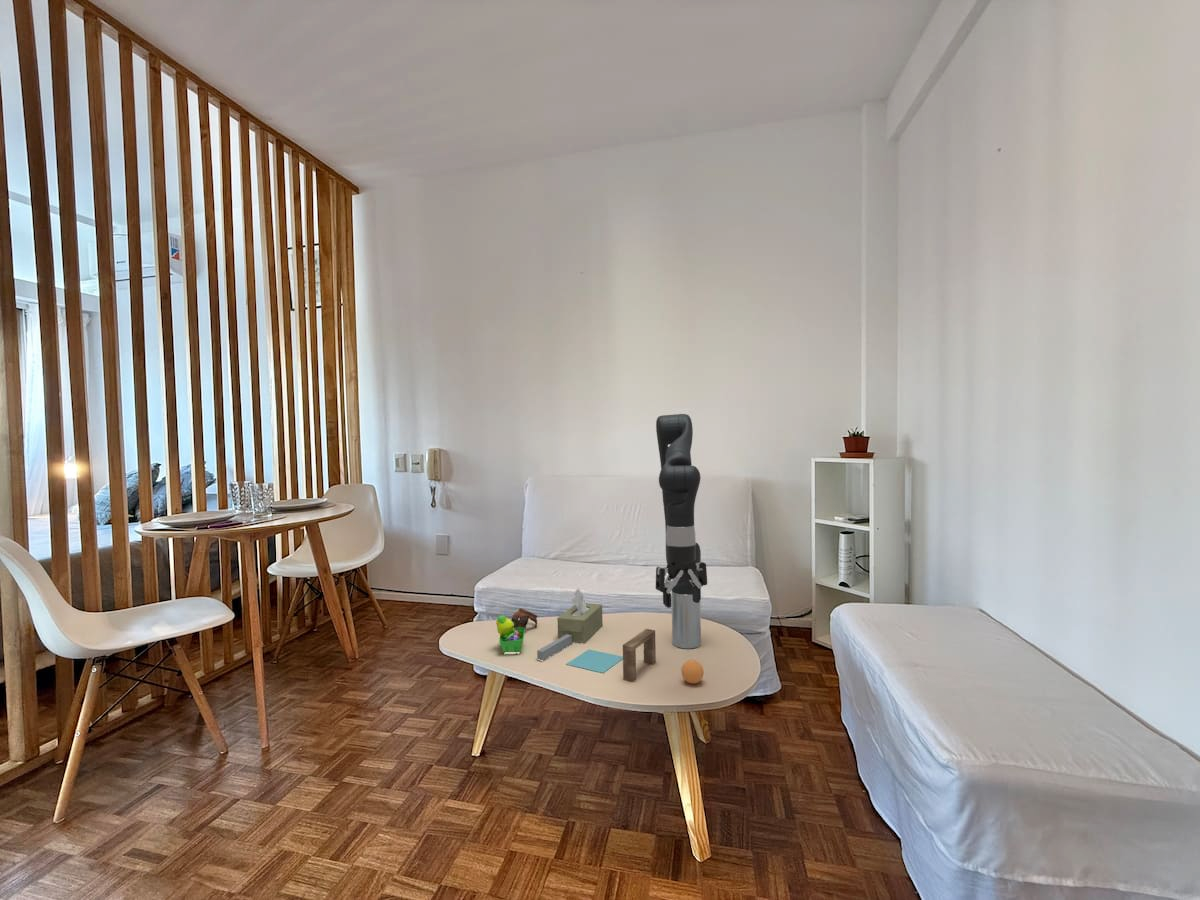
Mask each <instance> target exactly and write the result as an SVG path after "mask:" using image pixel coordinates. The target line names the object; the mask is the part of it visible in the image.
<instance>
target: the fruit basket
mask: <svg viewBox="0 0 1200 900" xmlns="http://www.w3.org/2000/svg"><path fill="white" fill-rule="evenodd" d="M495 623H496V628H497V633H498V635H499V639H498V642H499V644H500V647H501V650H502V653H503V652H504V653H505V652H520V653H521V650H522V646H523V642H524V639H525V630H526V628H513V627H514V623H513V622H512V621H511V619H509V618H508V617H507V616H505V615H503V614H502V615H499V616H497V619H496V622H495Z"/></svg>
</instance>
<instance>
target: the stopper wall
mask: <svg viewBox="0 0 1200 900" xmlns="http://www.w3.org/2000/svg"><path fill="white" fill-rule="evenodd" d="M571 644H572V645H573V643H572V635H568V634H566V635H564V636H563V637H561V638H559V639H558V638H557V639H555V640H553V641H551V642H549V643H548V644H547V645H545V646H543V647H541V648H539V649H538V650H536V657H537V658H536V659H540V660H544V659H546V658H548V657H549V656H551V655H553V654H555V653H556V654H558V653H560V652H561V651H563V650H565V649H566V647H567V646H568V647H570V646H572V645H571ZM569 645H570V646H569ZM568 647H567V648H568ZM564 648H565V649H564ZM562 649H563V650H562ZM560 650H561V651H560ZM559 651H560V652H559ZM557 652H558V653H557ZM556 654H555V655H556ZM553 656H554V655H553ZM551 657H552V656H551ZM548 659H549V658H548ZM546 660H547V659H546Z"/></svg>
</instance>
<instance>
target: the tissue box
mask: <svg viewBox="0 0 1200 900" xmlns="http://www.w3.org/2000/svg"><path fill="white" fill-rule="evenodd" d="M571 602H572V603H573V605H572V606H571V607H570V608H568V609H566V611H565V612H563V613H562V614H561V615H559V616H558V617H557V639H559V638H561V637H563V636H564V635H566V634H568V635H572V642H575V643H574V644H581V643H583V644H582V645H584V644H585V645H586V644H587V642H588V641H589V640H590V639H591V638H592V637H593V636H595V634H596V633H597V632H599V631H600V630H601V628H603V626H604V625H603V604H602V603H601V604H600V603H590V602H588V603H587V602H586V600H585V597H584V594H583V593H582V592H581V590H580V589H579V588H576V590H575V591H574V597H573V598H572V599H571Z"/></svg>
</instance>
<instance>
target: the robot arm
mask: <svg viewBox="0 0 1200 900" xmlns="http://www.w3.org/2000/svg"><path fill="white" fill-rule="evenodd" d="M655 422H656V424H655V428H656V429H655V431H656V439H657V446H658V453H659V461H660V462H659V463H660V472H659V476H658V485H659V487H660V488H661V493H662V504H663V511H664V512H663V513H664V522H665V523H664V524H665V525H664V526H665V557H666V558H665V560H666V566H664V567H662V566H661V567H660V566H656V568H655V590H656V591H659V592H661V593H662V601H663V602H662V604H663V605H664V606H665V608H668V609H669V608H671V623H672V624H671V627H672V629H671V630H672V632H671V635H672V636H671V637H672V645H673V646H675V647H677V648H681V649H696V648H699V647H700V646H701V645H702V633H701V632H702V627H701V626H702V625H701V623H702V622H701V620H702V619H701V599H702V596H701V595H702V593H701V592H702V591H701V590H702V587H703V586H707V585H708V573H707V563H706V562H703V561H701V559H702V557H701V555H702V554H701V553H702V551H701V547H700V545H699V543H697V542H696V540H697V539H696V530H695V506H696V505H695V504H696V498H697V495H698V494H697V493H698V492H699V491H698V490H699V487H700V484H701V473H700V470H699V468H698V467H696V466H695V465H692V463H693V462H692V454H691V450H692V445H693V431H694V430H693V422H692V418H691V417H690V416H689V414H687V413H676V414H663V415H659V416H657V417H656V421H655Z"/></svg>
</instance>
